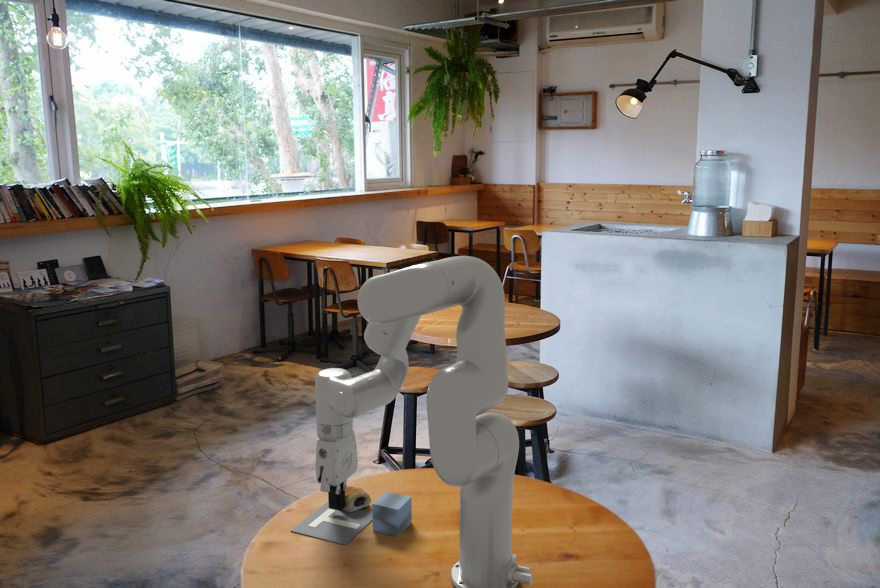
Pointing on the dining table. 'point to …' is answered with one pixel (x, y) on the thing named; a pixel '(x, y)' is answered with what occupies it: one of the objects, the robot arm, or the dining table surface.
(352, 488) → the pastry
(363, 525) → the board
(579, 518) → the dining table surface
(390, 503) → the slate blue cube
